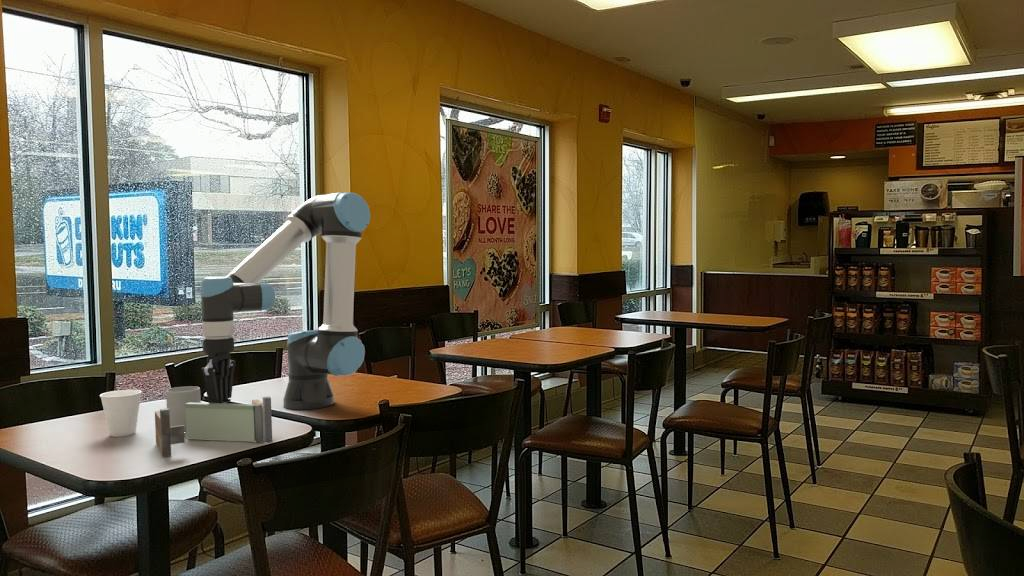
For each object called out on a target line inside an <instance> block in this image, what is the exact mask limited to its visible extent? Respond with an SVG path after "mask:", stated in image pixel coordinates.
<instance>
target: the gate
mask: <svg viewBox="0 0 1024 576" xmlns="http://www.w3.org/2000/svg"><path fill="white" fill-rule="evenodd" d="M185 408H186V431H187V432H186V439H187V440H188V439H189V440H204V441H205V440H210V441H212V440H213V441H233V442H234V441H235V442H252V443H253V442H256V443H261V442H264V439H263V415H262V405H257V404H252V403H250V404H249V403H227V402H226V403H209V402H201V403H193V402H189V403H186V404H185Z"/></svg>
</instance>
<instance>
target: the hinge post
mask: <svg viewBox="0 0 1024 576" xmlns="http://www.w3.org/2000/svg"><path fill="white" fill-rule="evenodd" d="M251 404H257V405H262V415H263V442H265V443H270V442H273V420H272V397H271V396H263V397H262V401H260V400H259V399H252V400H251Z"/></svg>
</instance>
